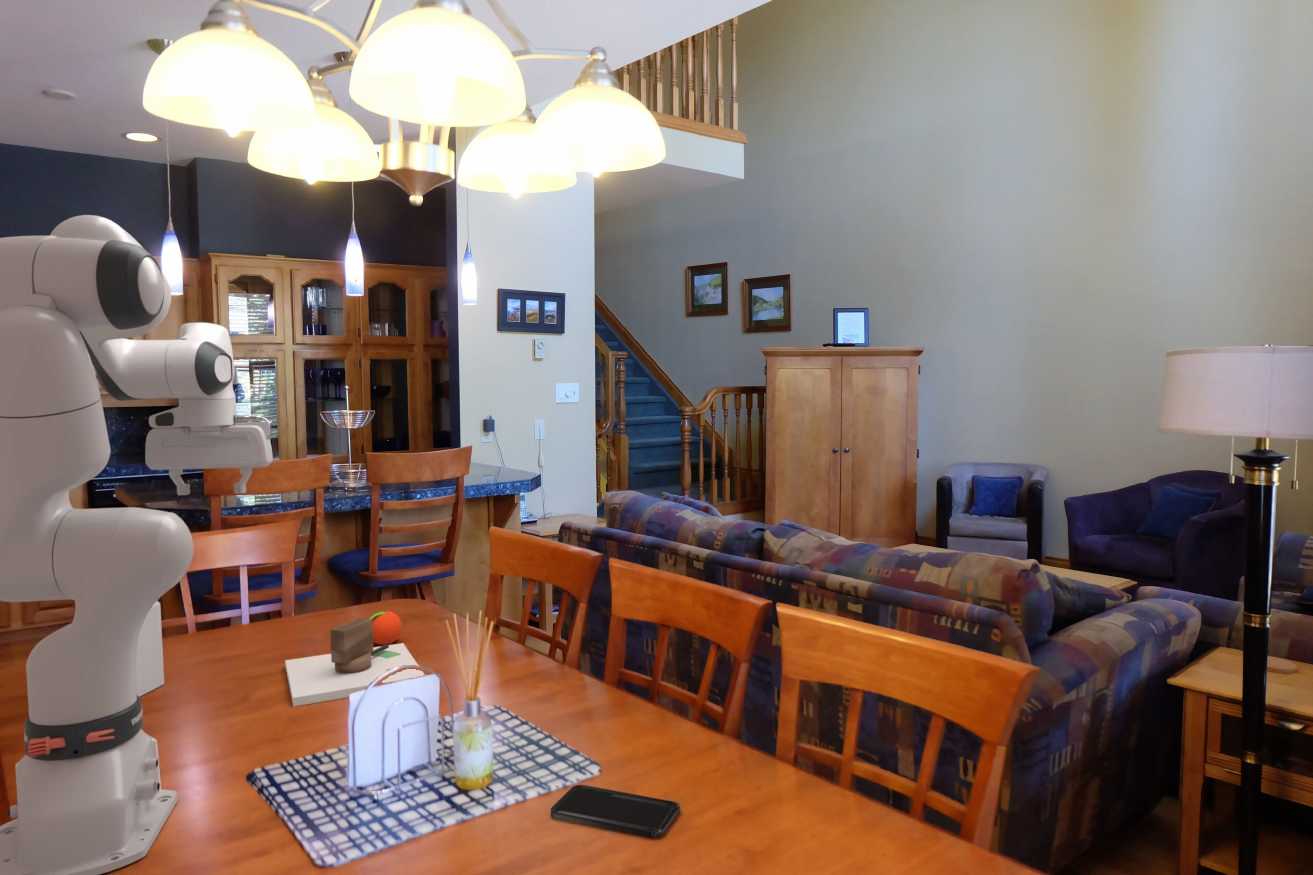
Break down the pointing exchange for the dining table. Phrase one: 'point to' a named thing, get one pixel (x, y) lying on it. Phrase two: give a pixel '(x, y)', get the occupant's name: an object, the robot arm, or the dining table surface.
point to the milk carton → (150, 653)
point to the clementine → (386, 627)
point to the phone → (616, 811)
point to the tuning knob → (353, 646)
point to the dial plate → (343, 675)
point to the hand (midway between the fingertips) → (212, 493)
